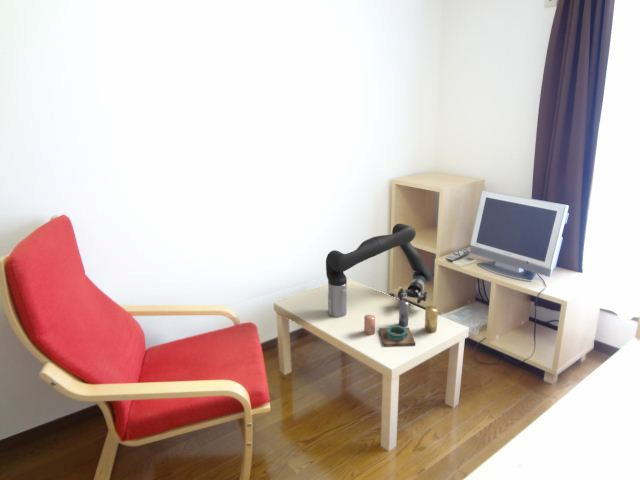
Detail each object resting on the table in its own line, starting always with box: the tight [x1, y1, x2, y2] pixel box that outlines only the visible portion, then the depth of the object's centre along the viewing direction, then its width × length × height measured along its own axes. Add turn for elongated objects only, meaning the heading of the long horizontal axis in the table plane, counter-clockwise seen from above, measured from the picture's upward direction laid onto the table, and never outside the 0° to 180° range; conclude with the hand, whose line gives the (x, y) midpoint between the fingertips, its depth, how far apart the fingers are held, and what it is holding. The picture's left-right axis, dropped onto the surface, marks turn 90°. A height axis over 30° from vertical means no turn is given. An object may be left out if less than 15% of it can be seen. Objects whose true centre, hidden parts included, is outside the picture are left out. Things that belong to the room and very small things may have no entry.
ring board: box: [378, 325, 416, 347], centre depth 206 cm, size 14×14×4 cm
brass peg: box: [423, 305, 439, 334], centre depth 211 cm, size 6×6×11 cm
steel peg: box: [398, 299, 410, 327], centre depth 216 cm, size 4×4×12 cm
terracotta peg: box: [363, 314, 376, 336], centre depth 210 cm, size 5×5×8 cm
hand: (409, 300), depth 225 cm, fingers open, 8 cm apart
